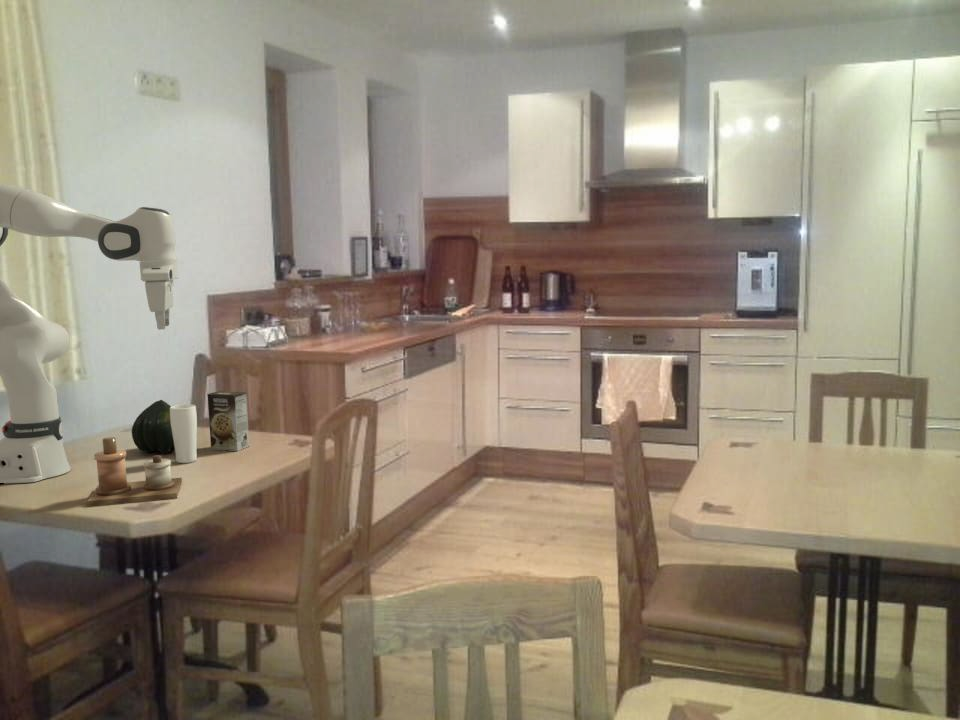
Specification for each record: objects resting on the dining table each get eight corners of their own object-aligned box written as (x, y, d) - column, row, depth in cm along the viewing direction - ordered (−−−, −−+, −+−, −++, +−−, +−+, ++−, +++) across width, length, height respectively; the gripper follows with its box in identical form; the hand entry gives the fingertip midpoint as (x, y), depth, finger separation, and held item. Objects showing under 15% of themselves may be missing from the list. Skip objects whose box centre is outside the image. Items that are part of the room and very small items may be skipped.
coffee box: (209, 450, 245) (206, 394, 242) (223, 444, 251) (219, 390, 249) (237, 451, 242) (233, 394, 240) (250, 446, 248) (247, 391, 246)
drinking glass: (204, 458, 235) (200, 404, 233) (193, 464, 228) (189, 408, 226) (180, 458, 236) (176, 404, 234) (168, 464, 229) (164, 409, 227)
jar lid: (92, 461, 195) (90, 442, 195) (97, 455, 202) (95, 436, 201) (124, 459, 197) (122, 440, 197) (128, 452, 204) (127, 434, 203)
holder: (87, 506, 193) (83, 466, 192) (98, 489, 206) (95, 452, 205) (177, 498, 198) (174, 458, 196) (182, 482, 211) (179, 445, 210)
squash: (144, 441, 232) (172, 394, 239) (113, 438, 241) (140, 392, 248) (181, 467, 242) (207, 421, 249) (150, 462, 251) (175, 418, 258)
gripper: (151, 272, 225) (155, 324, 227) (140, 274, 206) (145, 331, 208) (176, 271, 227) (180, 323, 229) (168, 273, 207) (172, 330, 209)
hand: (163, 327), depth 218 cm, fingers open, 8 cm apart
